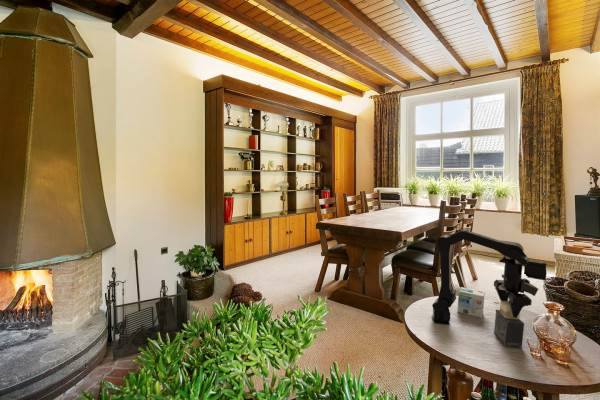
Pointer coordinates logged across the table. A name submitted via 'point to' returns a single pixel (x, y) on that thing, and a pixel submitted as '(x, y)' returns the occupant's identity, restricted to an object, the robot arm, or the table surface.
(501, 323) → the small box
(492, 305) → the table surface
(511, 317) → the birch cube
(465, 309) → the light bulb box
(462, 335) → the table surface
